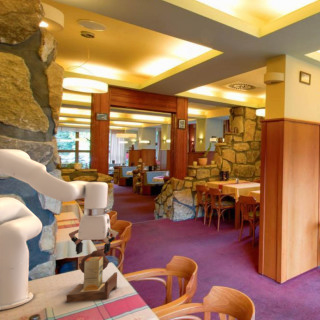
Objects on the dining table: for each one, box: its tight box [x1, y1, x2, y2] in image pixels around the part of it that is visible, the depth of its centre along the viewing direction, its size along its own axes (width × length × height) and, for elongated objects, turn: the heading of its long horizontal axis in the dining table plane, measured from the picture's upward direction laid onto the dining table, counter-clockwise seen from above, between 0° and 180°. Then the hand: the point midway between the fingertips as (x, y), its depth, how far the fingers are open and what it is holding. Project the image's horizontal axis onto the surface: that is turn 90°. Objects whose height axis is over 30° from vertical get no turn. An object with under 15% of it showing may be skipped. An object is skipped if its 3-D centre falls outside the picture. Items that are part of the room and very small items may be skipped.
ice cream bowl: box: [78, 249, 110, 274], centre depth 129 cm, size 11×11×15 cm
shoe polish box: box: [83, 256, 104, 291], centre depth 118 cm, size 5×5×12 cm
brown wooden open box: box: [65, 271, 118, 303], centre depth 118 cm, size 14×10×7 cm
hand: (93, 252), depth 118 cm, fingers open, 9 cm apart
